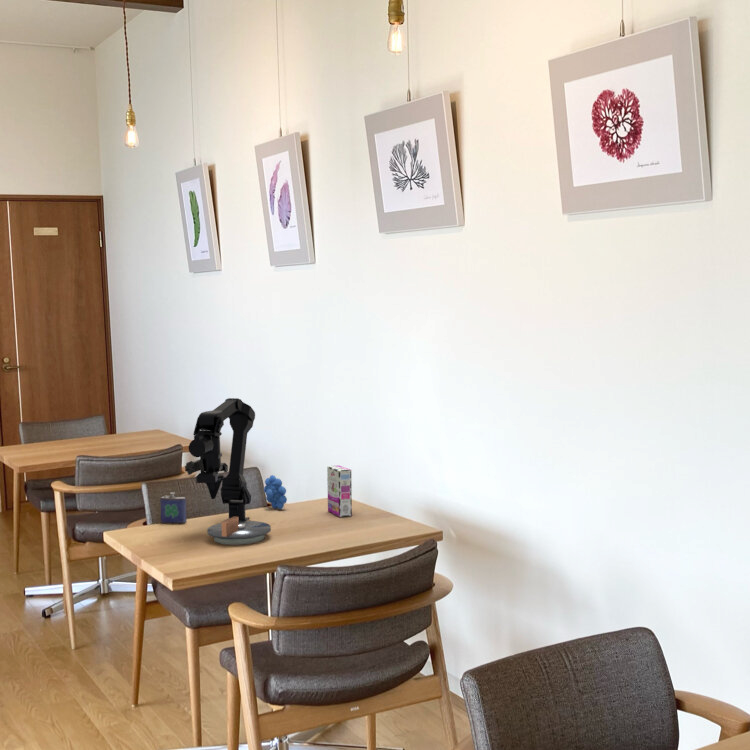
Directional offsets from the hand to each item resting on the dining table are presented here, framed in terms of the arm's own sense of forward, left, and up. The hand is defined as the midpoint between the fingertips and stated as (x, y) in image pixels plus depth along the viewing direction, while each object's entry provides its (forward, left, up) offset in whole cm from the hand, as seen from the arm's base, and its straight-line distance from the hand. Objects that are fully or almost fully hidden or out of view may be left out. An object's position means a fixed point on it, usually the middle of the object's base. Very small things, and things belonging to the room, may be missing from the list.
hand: (213, 498), depth 318 cm
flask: (-10, -20, -12) cm, 25 cm away
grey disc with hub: (+5, +11, -9) cm, 15 cm away
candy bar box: (-36, +31, -12) cm, 49 cm away
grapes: (-38, +5, -12) cm, 40 cm away
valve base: (+4, +11, -11) cm, 16 cm away
